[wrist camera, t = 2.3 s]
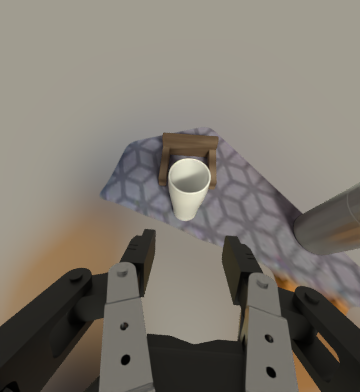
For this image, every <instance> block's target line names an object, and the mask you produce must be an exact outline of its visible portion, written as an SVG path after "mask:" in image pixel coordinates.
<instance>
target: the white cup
mask: <svg viewBox="0 0 360 392" xmlns="http://www.w3.org/2000/svg"><path fill="white" fill-rule="evenodd" d="M210 180H211V174H210V171H209V169H208V167H207V166H206V165H205V164H204V163H202V162H201V161H199V160H196V159H192V158H186V159H181V160H179V161H177V162H176V163H174V164H173V165H172V167H171V168H170V170H169V174H168V187H169V193H170V197H171V201H172V205H173V212H174V214H175V216H176V217H177V218H178V219H180V220H183V221H188V220H191V219H192V218H194V217H195V215H196V213H197V210H198V209H199V207H200V205H201V203H202V202H203V200H204V198H205V196H206V194H207V191H208V188H209V184H210Z"/></svg>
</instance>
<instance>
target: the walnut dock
mask: <svg viewBox="0 0 360 392" xmlns="http://www.w3.org/2000/svg"><path fill="white" fill-rule="evenodd" d="M162 139H163V151H162V158H161V165H160V172H159V185H162V186H166V182H167V174H168V166H169V157H170V155H184V156H198V157H208V169H209V171H210V174H211V180H210V184H209V188H208V189H214V188H215V186H216V148H217V145H218V137H217V136H203V135H189V134H175V133H163V137H162Z"/></svg>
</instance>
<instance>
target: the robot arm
mask: <svg viewBox="0 0 360 392" xmlns="http://www.w3.org/2000/svg"><path fill="white" fill-rule="evenodd" d="M155 234H156V231H155V230H151V229H145V230H144V232H143V235H142V236H135V237H134V238H133V239H131V241H130V243H129V245H128V247H127V249H126V251H125V253H124V255H123V256H122V258H121V260H120V262H119V263H117V264H115V265H114V266H112V267H111V268H110V270H109V272H107V273H103V274H98V275H92V274H91V271H90V270H89V269H86V268H77V269H73V270H71V271H69V272H67V273H66V274H64V275H63V276H62V277H61V278H60V279H58V280H57V281H56V282H55V283H53V284H52V285H51V286H50V287H48V288H47V289H46V290H45V291H43V292H42V293H41V294H40V295H39V296H37V297H36V298H35V299H34V300H33V301H31V302H30V303H29V304H27V305H26V306H25V307H24V308H22V309H21V310H20V311H19V312H18V313H16V314H15V315H14V316H13V317H11V318H10V319H9V320H8V321H6V322H5V323H4V324H3V325H2V326H0V392H40V391H41V390H42V389H43V387H44V386H45V385H46V383H47V382H48V381H49V379H50V378H51V377H52V375H53V374H54V373H55V372H56V370H57V369H58V368H59V366H60V365H61V364H62V362H63V361H64V360H65V358H66V357H67V356H68V354H69V353H70V352H71V350H72V349H73V348H74V347H75V345H76V344H77V343H78V341H79V340H80V339H81V337H82V336H83V335H84V333H85V332H86V331H87V329H88V328H89V327H90V326H91V324H92V323H93V321H94V320H96V319H100V318H104V325H103V339H102V354H101V368H100V376H99V377H97V378H96V380H95V381H94V382H93V383H92V384H91V385H90V386H89V387H88V388H87V389H86V390H85V391H84V392H299V391H298V384H297V379H296V373H295V366H294V360H293V354H292V350H293V352H294V353H295V355H296V356H297V358H298V359H299V360H300V362H301V363H302V365H303V366H304V367H305V369H306V371H307V372H308V373H309V375H310V376H311V378H312V379H313V381H314V382H315V383H316V385H317V386H318V388H319V389H320V391H321V392H360V329H359V328H358V327H357V326H356V325H355V324H354V323H353V322H352V321H350V320H349V319H348V318H347V317H346V316H345V315H344V314H343V313H342V312H340V311H339V310H338V309H337V308H336V307H335V306H334V305H333V304H332V303H331V302H329V301H328V300H327V299H326V298H325V297H324V296H323V295H322V294H320V293H319V292H317V291H316V290H314V289H312V288H309V287H305V286H299V287H297V288H296V289H295V292H291V291H288V290H285V289H282V288H279V287H277V284H276V282H275V281H274V280H273V279H272V278H270V277H269V276H267V275H265V274H263V272H262V270H261V268H260V266H259V264H258V262H257V260H255V257H254V255H253V253H252V251H251V249H250V248H249V247H247V246H246V245H245V244H241V243H240V241H239V239H238V237H237V236H225V241H224V247H223V253H222V264H223V268H224V271H225V275H226V278H227V282H228V286H229V289H230V293H231V297H232V301H233V304H234V305H240V306H241V313H240V319H239V331H238V340H237V341H227V340H214V341H210V342H204V343H200V344H191V343H188V342H186V341H183V340H180V339H178V338H175V337H172V336H168V335H155V334H147V337H146V330H145V323H144V316H143V309H142V301H141V297H144V294H145V291H146V287H147V282H148V279H149V275H150V271H151V267H152V263H153V260H154V255H155V237H156V235H155ZM294 234H295V237H296V239H297V240H298V242H299V243H300V244H301V246H302V247H303V248H305V249H306V250H307V251H309V252H311V253H313V254H316V255H328V254H333V253H338V252H344V251H348V250H354V249H358V248H360V183H358V184H356V185H354V186H353V187H351V188H349V189H347V190H346V191H344V192H342V193H340V194H338V195H336V196H335V197H333V198H331V199H329V200H328V201H326V202H324V203H322V204H320V205H319V206H317V207H315V208H313V209H311V210H309V211H307V212H306V213H304V214H302V215H300V216H299V217H298V218H297V219H296V220H295V222H294ZM318 332H319V333H320V334H321V335H322V337H323V338H324V339H325V340H326V341H327V342H328V344H329V345H330V346H331V347H332V348H333V349H334V350H335V352H336V353H337V355H338V358H339V361H340V363H339V362H338V361H337V360H336V358H335V357H334V356H333V355H332V354H331V353H330V352H329V350H328V349H327V348H326V347H325V346H324V345H323V343H322V342H321V341H320V340H319V339H318V337H317V336H316V335H317V333H318Z"/></svg>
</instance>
